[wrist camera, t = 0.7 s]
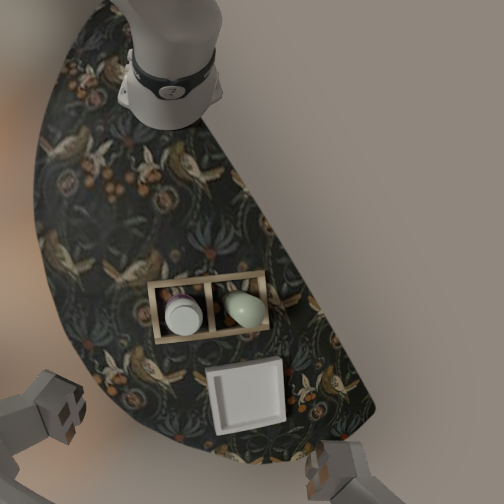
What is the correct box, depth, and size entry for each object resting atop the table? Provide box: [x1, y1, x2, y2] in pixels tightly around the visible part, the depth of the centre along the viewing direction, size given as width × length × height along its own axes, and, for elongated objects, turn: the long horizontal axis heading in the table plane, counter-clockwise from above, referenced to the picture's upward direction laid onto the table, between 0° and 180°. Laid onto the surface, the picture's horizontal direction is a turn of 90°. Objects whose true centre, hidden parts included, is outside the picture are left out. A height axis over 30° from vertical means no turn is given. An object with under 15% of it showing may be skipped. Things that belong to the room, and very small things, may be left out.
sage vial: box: [223, 290, 266, 328], centre depth 46 cm, size 4×4×9 cm
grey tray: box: [205, 356, 286, 435], centre depth 49 cm, size 13×13×2 cm
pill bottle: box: [165, 294, 203, 336], centre depth 43 cm, size 5×5×10 cm
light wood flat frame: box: [147, 270, 269, 344], centre depth 48 cm, size 10×19×1 cm, turn 95°
